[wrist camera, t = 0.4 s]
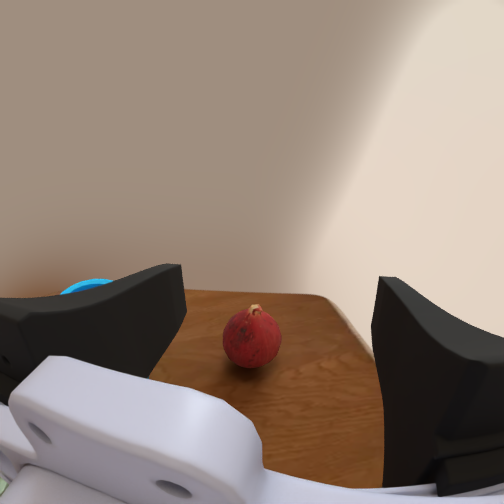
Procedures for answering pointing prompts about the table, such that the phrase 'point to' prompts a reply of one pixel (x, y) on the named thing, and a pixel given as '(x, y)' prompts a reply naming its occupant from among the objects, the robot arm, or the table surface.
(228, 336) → the onion
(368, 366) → the table surface
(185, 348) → the table surface
